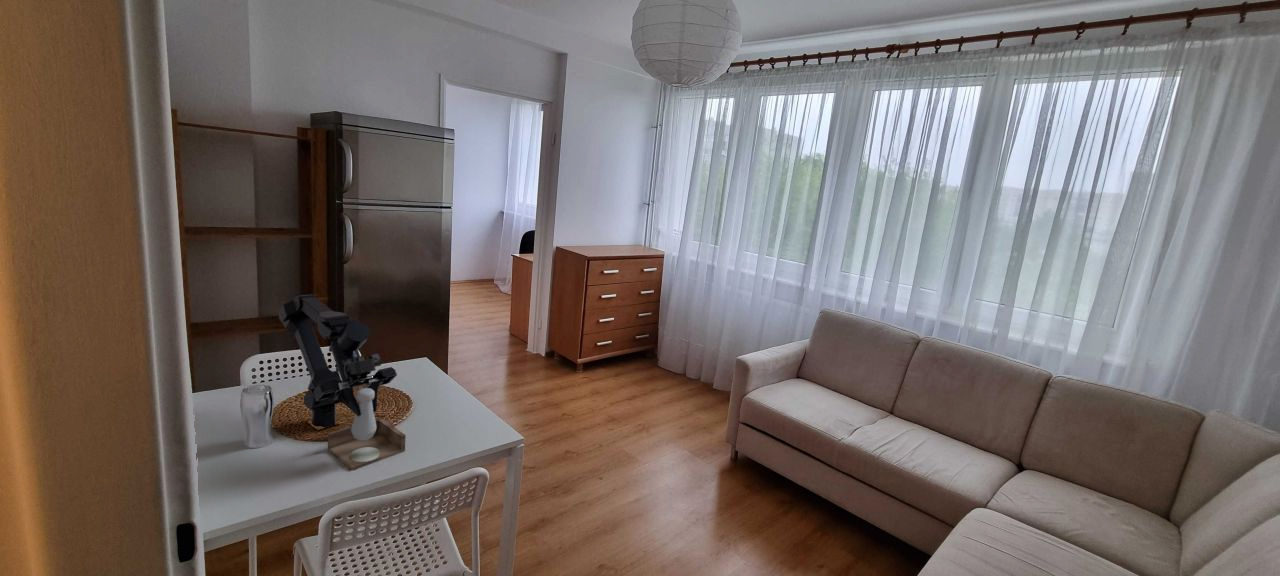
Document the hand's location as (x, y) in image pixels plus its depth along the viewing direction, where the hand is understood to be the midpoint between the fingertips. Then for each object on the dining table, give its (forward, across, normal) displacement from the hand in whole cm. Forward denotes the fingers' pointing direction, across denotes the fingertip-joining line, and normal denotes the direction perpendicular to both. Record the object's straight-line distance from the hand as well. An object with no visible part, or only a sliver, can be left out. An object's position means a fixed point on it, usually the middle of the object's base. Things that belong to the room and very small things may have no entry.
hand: (367, 413), depth 133 cm
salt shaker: (+4, 0, +6) cm, 7 cm away
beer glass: (-8, -16, +27) cm, 32 cm away
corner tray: (+6, +2, +12) cm, 14 cm away
